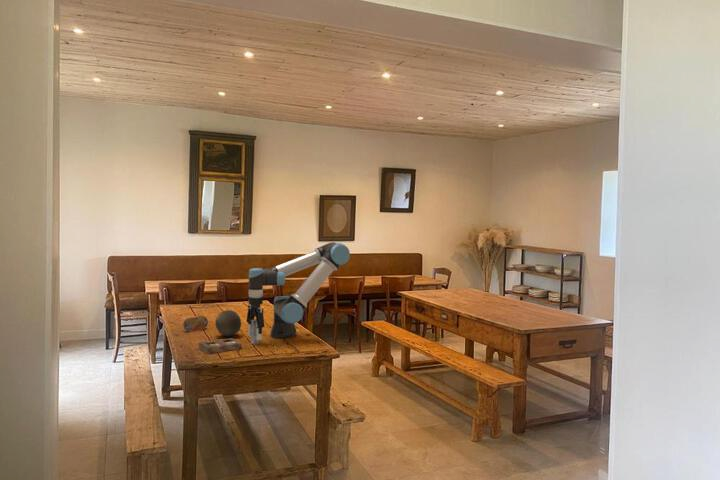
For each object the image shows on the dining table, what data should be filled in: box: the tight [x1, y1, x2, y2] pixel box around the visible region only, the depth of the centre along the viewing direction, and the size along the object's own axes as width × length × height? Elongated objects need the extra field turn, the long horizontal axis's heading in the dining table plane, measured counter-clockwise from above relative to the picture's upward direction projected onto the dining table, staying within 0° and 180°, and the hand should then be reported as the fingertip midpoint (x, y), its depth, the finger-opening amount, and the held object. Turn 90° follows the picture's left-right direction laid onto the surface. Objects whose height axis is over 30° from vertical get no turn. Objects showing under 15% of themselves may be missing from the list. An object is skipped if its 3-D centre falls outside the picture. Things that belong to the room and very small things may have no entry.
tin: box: [182, 315, 209, 333], centre depth 311 cm, size 15×3×8 cm, turn 137°
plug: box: [250, 318, 260, 345], centre depth 284 cm, size 3×3×13 cm
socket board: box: [198, 337, 243, 355], centre depth 271 cm, size 18×13×3 cm
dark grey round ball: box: [215, 309, 242, 337], centre depth 297 cm, size 14×14×15 cm
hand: (255, 337), depth 284 cm, fingers open, 9 cm apart
